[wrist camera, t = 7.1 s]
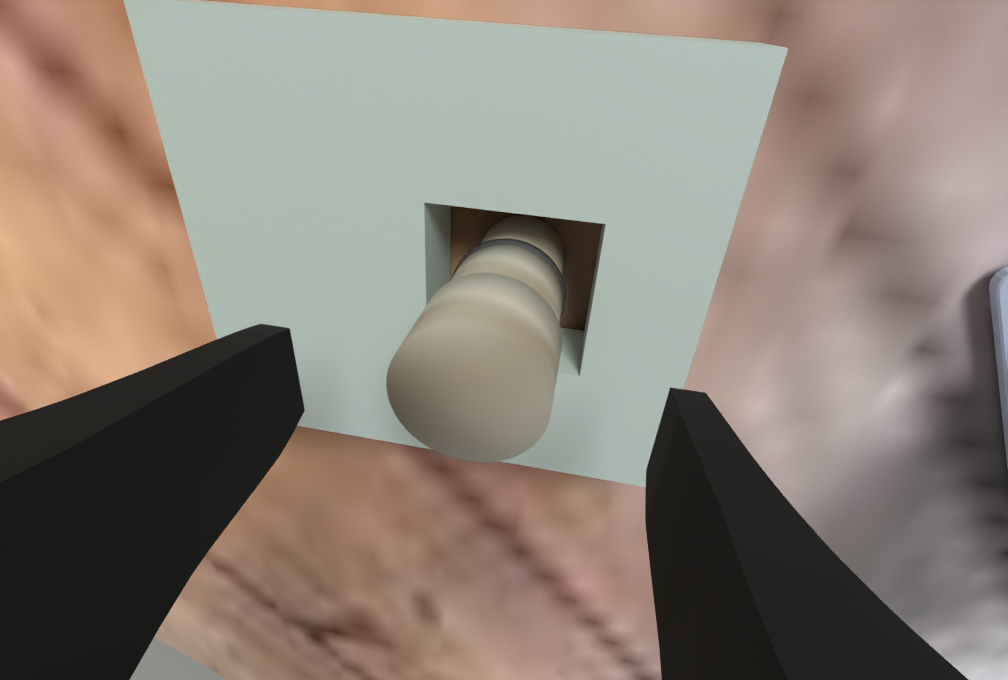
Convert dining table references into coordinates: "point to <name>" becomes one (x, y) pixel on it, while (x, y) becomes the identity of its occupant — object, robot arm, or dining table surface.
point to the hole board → (454, 191)
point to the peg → (486, 348)
